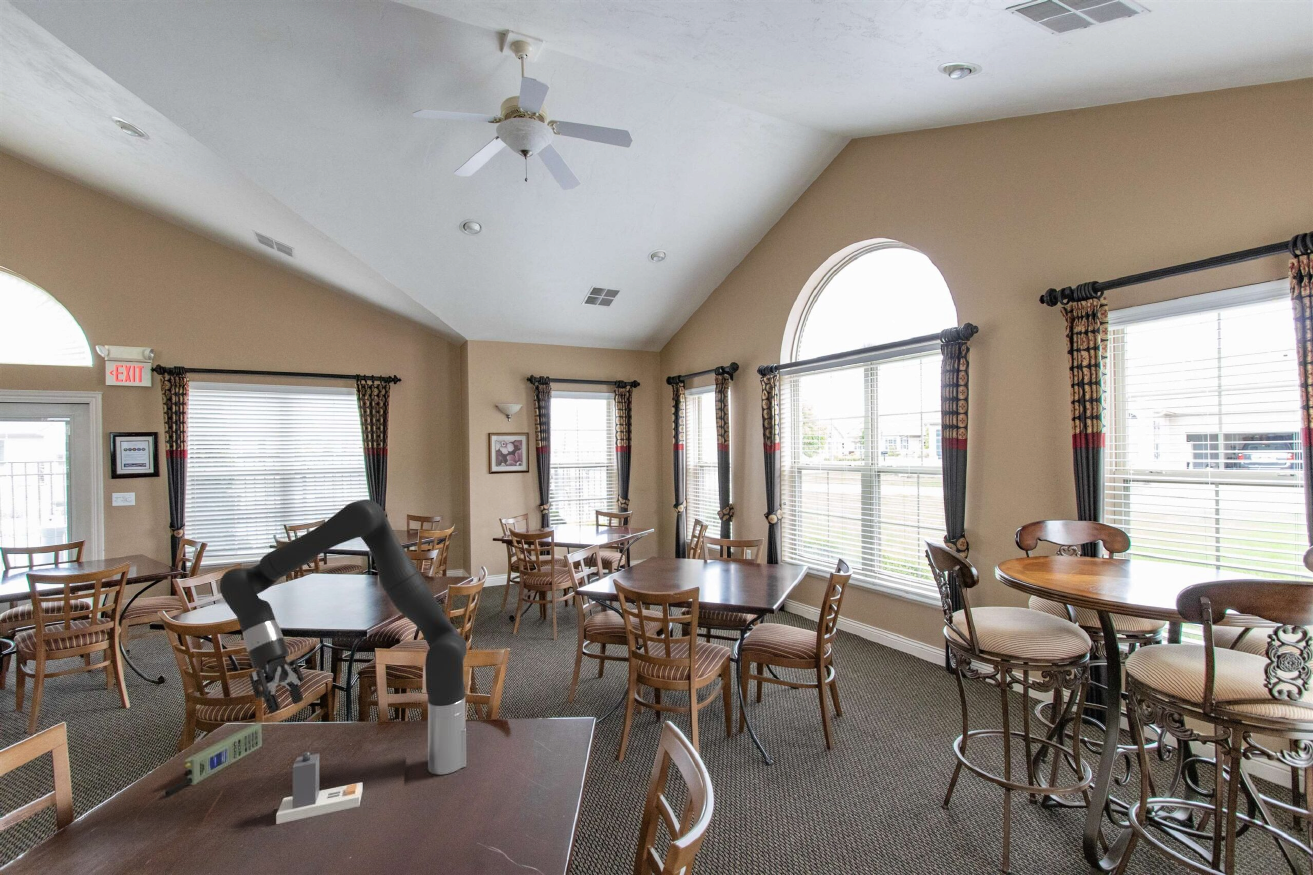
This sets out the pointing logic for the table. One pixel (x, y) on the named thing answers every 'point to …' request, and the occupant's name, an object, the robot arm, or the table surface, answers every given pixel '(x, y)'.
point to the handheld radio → (220, 755)
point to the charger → (305, 780)
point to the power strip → (322, 803)
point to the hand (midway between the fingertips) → (287, 706)
